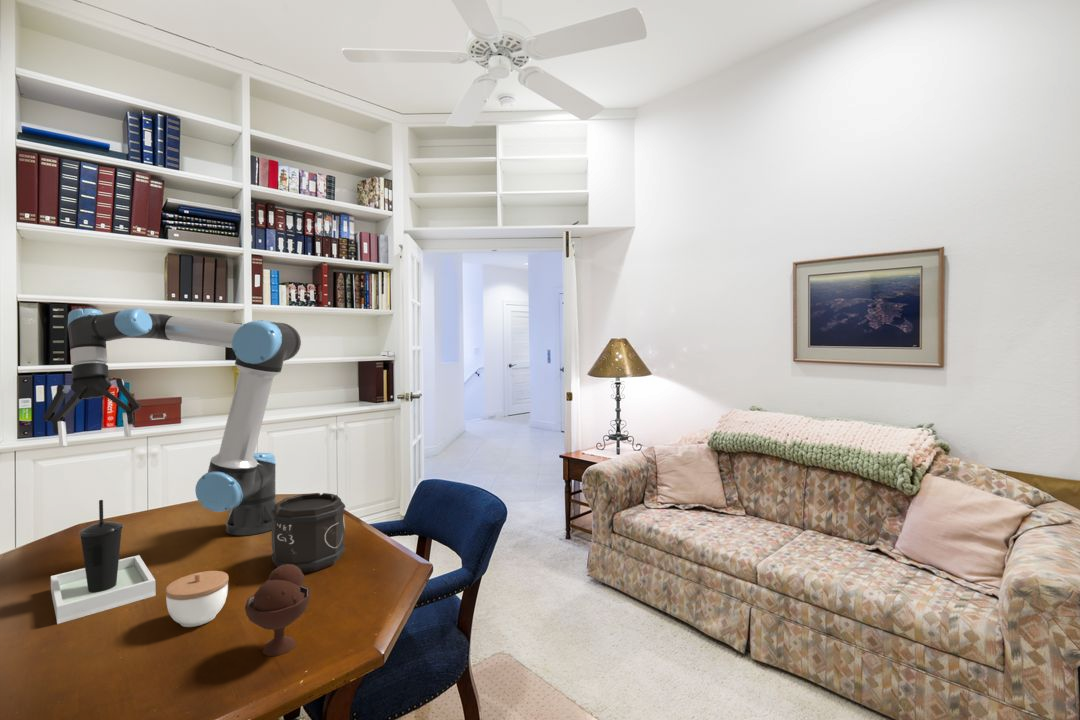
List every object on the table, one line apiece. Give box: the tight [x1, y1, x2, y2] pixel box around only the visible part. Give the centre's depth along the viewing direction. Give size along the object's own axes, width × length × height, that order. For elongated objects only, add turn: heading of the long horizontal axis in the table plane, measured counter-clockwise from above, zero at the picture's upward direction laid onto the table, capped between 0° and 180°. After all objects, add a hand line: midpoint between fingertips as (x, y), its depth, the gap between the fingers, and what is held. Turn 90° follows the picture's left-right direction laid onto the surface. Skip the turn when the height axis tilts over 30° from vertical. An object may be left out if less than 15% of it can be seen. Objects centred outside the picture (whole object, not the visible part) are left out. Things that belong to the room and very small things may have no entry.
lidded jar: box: [165, 570, 229, 628], centre depth 103 cm, size 11×11×9 cm
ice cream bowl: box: [244, 564, 311, 657], centre depth 93 cm, size 11×11×15 cm
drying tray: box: [50, 554, 157, 625], centre depth 114 cm, size 20×16×4 cm
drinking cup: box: [78, 499, 124, 593], centre depth 114 cm, size 8×8×20 cm
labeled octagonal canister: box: [270, 492, 347, 574], centre depth 132 cm, size 18×18×16 cm
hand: (96, 441), depth 136 cm, fingers open, 13 cm apart
